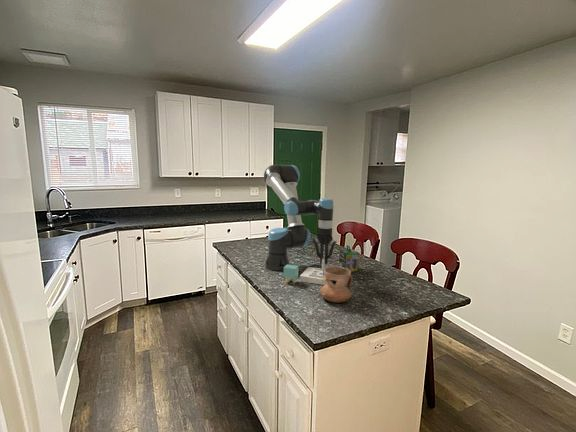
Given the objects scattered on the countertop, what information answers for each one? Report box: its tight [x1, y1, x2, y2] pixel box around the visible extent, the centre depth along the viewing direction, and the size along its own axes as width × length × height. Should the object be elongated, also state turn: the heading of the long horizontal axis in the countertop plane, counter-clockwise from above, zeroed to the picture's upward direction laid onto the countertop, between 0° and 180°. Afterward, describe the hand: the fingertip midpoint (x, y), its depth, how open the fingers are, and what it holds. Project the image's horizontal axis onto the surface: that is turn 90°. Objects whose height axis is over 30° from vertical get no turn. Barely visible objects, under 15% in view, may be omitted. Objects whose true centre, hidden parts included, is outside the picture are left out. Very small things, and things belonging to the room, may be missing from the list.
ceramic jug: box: [319, 265, 353, 304], centre depth 145 cm, size 18×14×14 cm
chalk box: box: [338, 245, 360, 273], centre depth 186 cm, size 9×9×15 cm
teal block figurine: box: [283, 264, 300, 284], centre depth 165 cm, size 7×5×8 cm
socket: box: [299, 266, 327, 286], centre depth 171 cm, size 20×16×4 cm
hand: (323, 269), depth 169 cm, fingers closed
